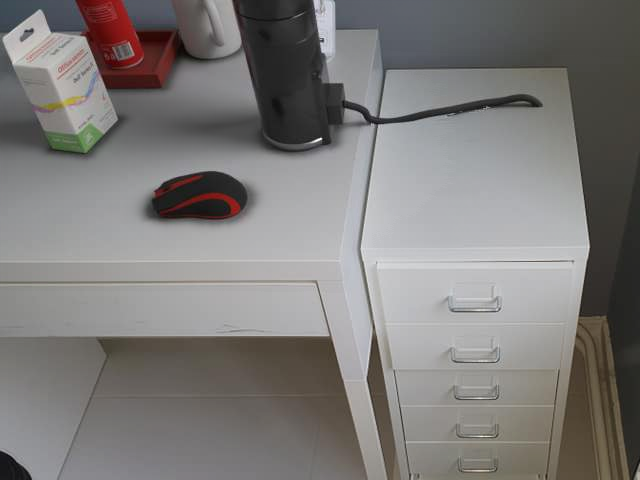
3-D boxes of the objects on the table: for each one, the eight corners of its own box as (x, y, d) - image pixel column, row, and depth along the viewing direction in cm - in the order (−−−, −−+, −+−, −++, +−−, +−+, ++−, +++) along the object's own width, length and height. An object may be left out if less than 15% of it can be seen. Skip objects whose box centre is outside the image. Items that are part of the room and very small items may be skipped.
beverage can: (153, 58, 109) (117, -49, 98) (118, 76, 106) (76, -32, 94) (126, 46, 111) (87, -60, 100) (91, 65, 108) (46, -43, 96)
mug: (179, 39, 114) (156, -34, 106) (232, 28, 117) (214, -45, 109) (200, 75, 108) (177, -1, 99) (256, 62, 110) (239, -13, 102)
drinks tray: (181, 42, 114) (177, 29, 112) (162, 87, 105) (157, 74, 104) (88, 43, 113) (83, 29, 112) (61, 88, 105) (55, 74, 103)
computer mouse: (161, 188, 91) (151, 161, 88) (251, 185, 91) (243, 158, 88) (151, 221, 87) (139, 194, 84) (244, 218, 87) (236, 191, 84)
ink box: (87, 155, 95) (35, 44, 83) (52, 150, 95) (-4, 39, 84) (120, 118, 100) (77, 10, 89) (87, 114, 101) (39, 6, 89)
